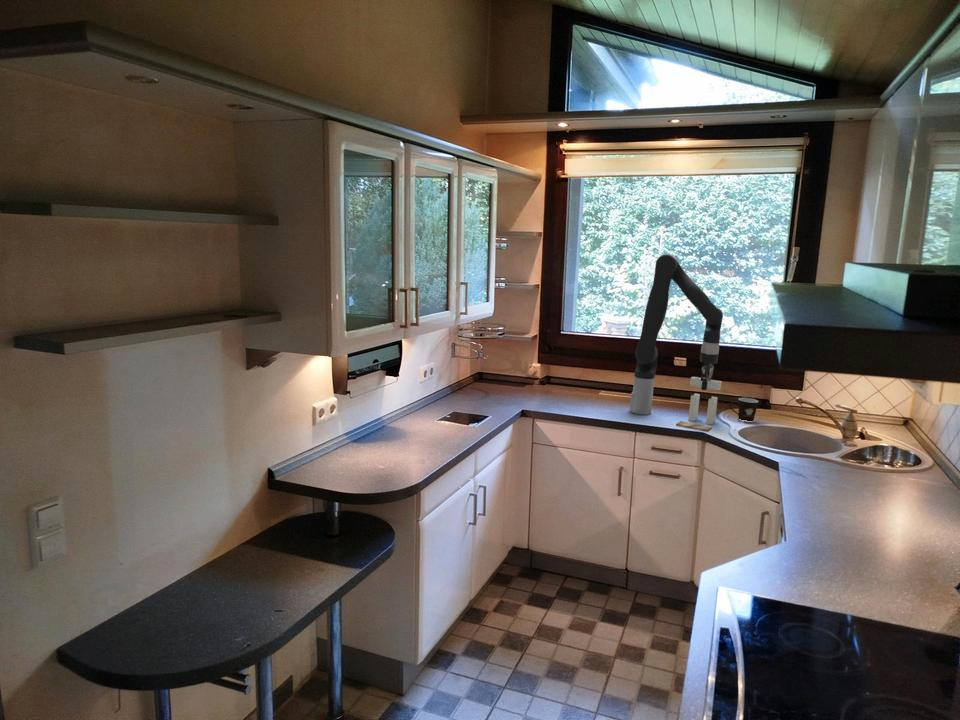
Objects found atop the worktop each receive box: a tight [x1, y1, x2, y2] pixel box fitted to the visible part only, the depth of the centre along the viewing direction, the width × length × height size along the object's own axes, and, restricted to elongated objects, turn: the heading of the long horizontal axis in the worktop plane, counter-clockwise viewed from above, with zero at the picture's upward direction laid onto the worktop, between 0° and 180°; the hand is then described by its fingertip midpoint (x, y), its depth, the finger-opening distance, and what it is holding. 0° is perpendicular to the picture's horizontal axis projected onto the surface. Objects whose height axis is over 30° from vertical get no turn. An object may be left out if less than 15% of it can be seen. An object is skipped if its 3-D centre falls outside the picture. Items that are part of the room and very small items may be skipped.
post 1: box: [688, 393, 701, 422], centre depth 306 cm, size 2×6×12 cm, turn 147°
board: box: [675, 420, 712, 433], centre depth 294 cm, size 14×6×1 cm, turn 57°
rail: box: [689, 376, 723, 391], centre depth 301 cm, size 13×4×4 cm, turn 57°
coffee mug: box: [729, 397, 759, 422], centre depth 308 cm, size 12×9×10 cm
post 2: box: [705, 396, 719, 425], centre depth 302 cm, size 2×6×12 cm, turn 147°
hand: (704, 388), depth 302 cm, fingers closed on rail, 3 cm apart
